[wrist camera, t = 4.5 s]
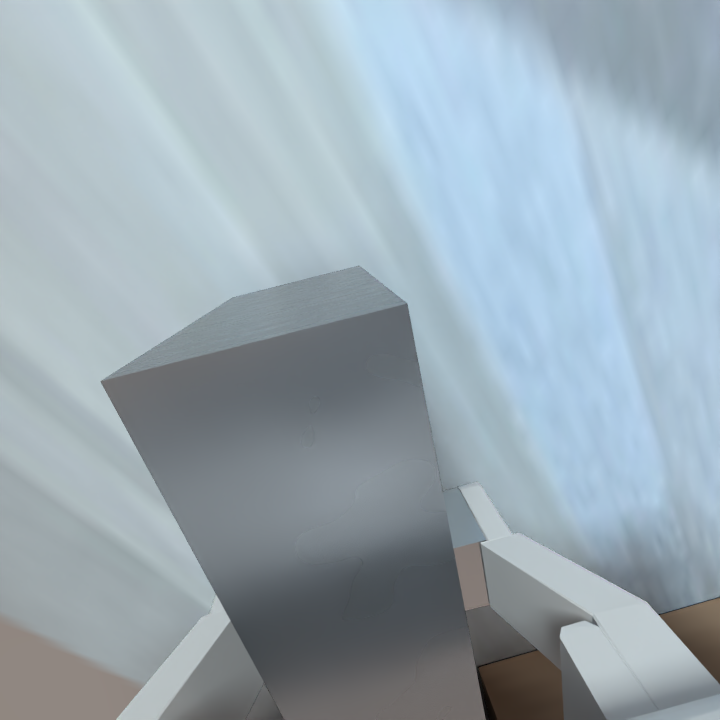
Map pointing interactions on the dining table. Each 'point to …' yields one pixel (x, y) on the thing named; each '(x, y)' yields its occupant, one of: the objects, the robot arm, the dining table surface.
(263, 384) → the grey stone brick
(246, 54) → the dining table surface
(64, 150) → the dining table surface
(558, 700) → the brown wooden block
